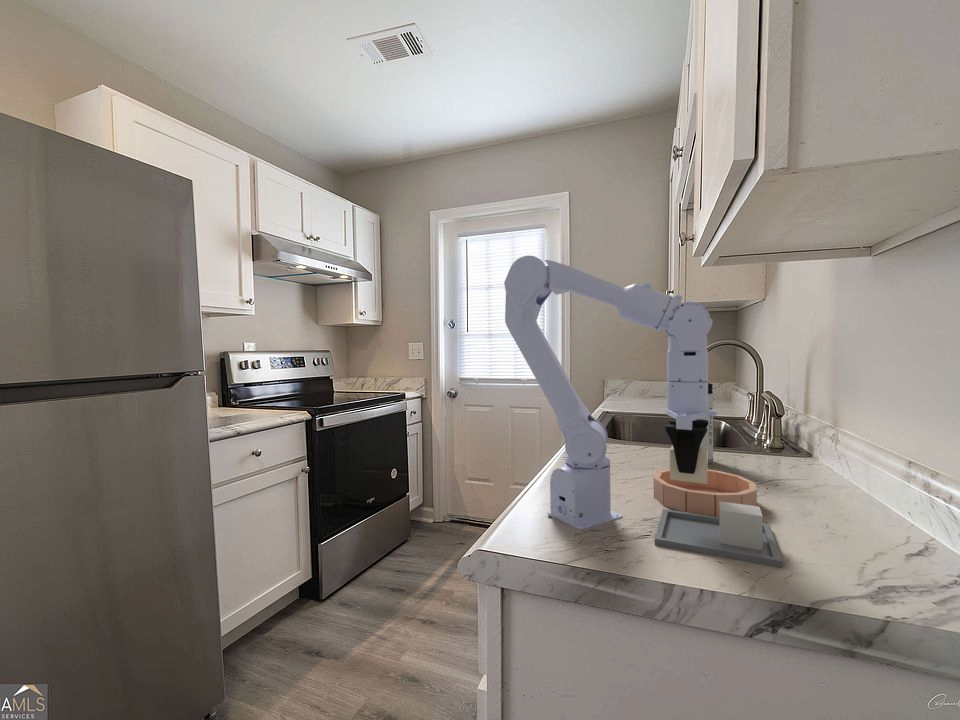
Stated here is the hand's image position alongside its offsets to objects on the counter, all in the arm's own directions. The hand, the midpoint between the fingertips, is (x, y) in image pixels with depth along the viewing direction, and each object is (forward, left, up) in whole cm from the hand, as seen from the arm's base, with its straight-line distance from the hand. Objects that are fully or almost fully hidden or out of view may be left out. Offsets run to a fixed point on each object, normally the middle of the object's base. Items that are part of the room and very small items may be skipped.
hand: (687, 468), depth 67 cm
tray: (-1, -5, -9) cm, 10 cm away
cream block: (0, 0, -1) cm, 1 cm away
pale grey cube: (0, -8, -8) cm, 11 cm away
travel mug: (+38, +23, -9) cm, 45 cm away
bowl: (+12, +5, -9) cm, 16 cm away
